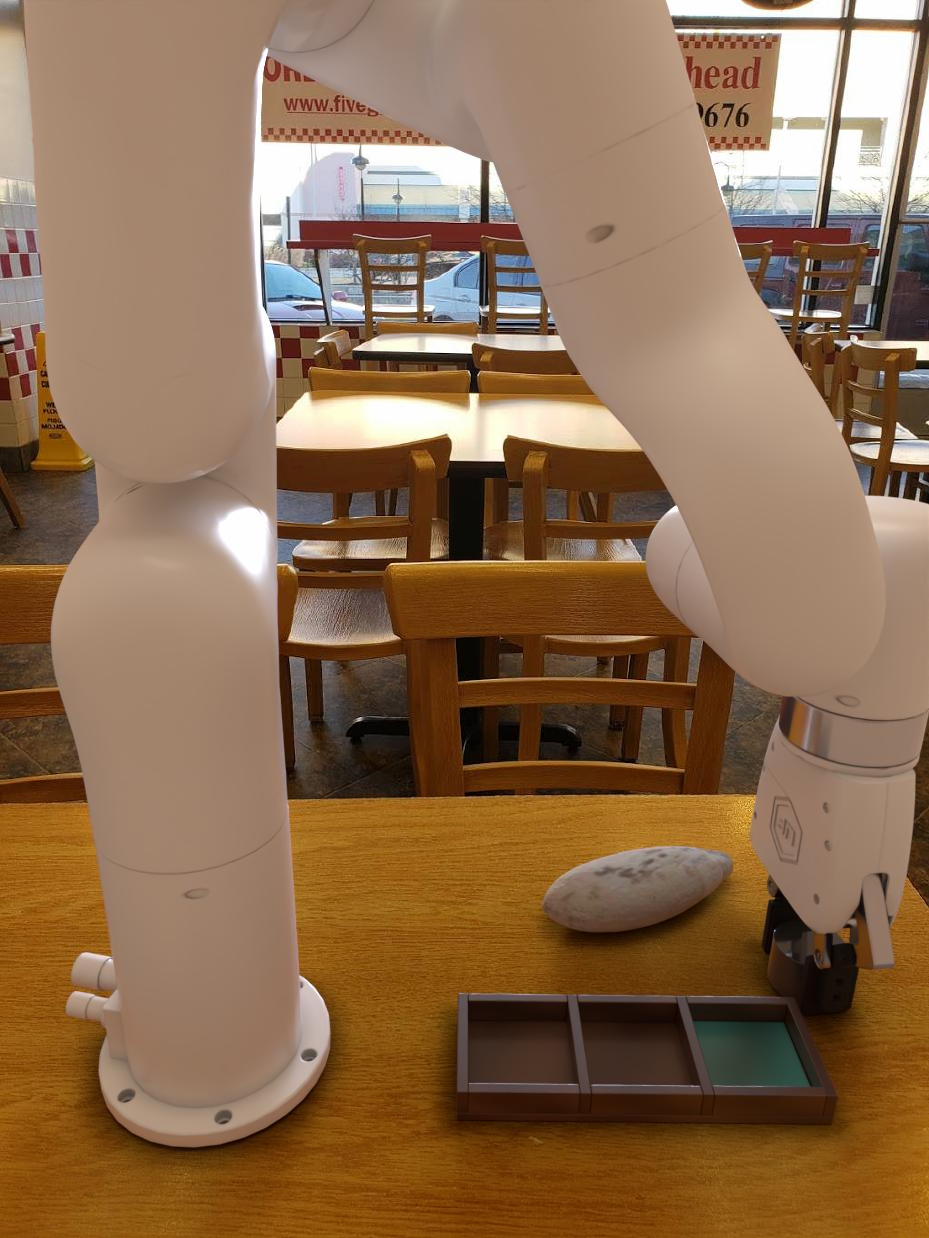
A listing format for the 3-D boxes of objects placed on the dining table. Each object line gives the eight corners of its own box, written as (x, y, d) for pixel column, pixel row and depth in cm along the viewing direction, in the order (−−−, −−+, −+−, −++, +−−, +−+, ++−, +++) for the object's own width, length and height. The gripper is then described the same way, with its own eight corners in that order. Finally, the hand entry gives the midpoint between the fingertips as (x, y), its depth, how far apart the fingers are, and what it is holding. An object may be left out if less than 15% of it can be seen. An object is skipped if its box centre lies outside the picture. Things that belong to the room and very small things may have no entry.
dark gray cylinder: (769, 999, 58) (775, 960, 57) (764, 951, 62) (770, 914, 61) (845, 1012, 57) (853, 973, 56) (835, 963, 61) (842, 925, 60)
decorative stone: (754, 899, 67) (760, 859, 65) (570, 966, 60) (573, 922, 59) (698, 853, 72) (702, 815, 71) (522, 910, 65) (524, 869, 64)
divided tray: (789, 1023, 56) (794, 996, 55) (832, 1124, 49) (838, 1096, 49) (457, 1019, 56) (457, 992, 55) (456, 1120, 49) (456, 1091, 49)
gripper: (728, 662, 60) (699, 898, 67) (864, 806, 44) (808, 1095, 51) (840, 657, 61) (800, 891, 67) (1011, 797, 45) (937, 1083, 52)
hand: (804, 976), depth 59 cm, fingers closed on dark gray cylinder, 4 cm apart
